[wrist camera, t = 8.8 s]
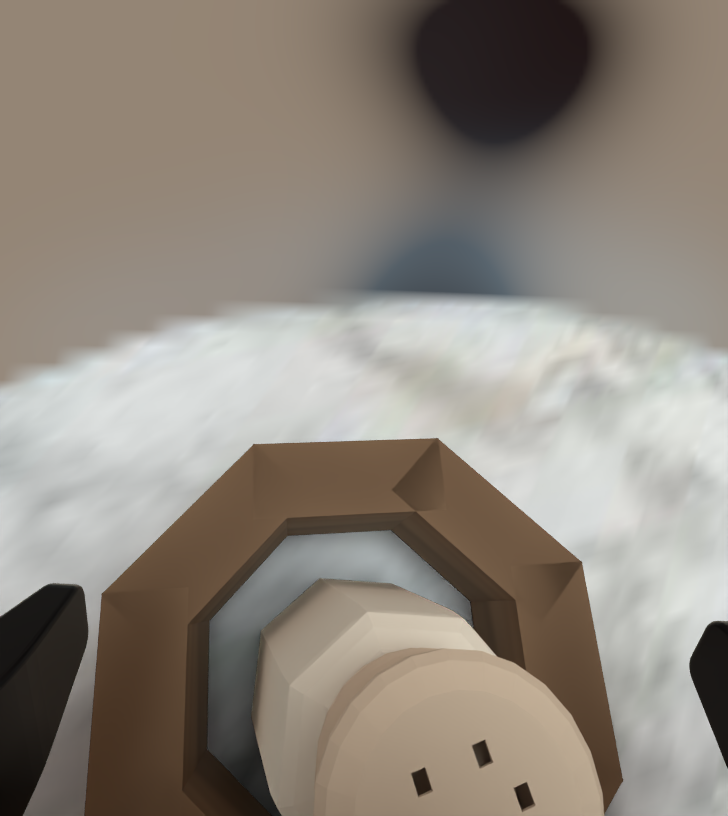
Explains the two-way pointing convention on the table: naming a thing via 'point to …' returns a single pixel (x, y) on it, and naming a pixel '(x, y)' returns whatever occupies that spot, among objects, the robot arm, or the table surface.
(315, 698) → the pepper shaker
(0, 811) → the robot arm
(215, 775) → the ring holder
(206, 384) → the table surface
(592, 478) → the table surface
